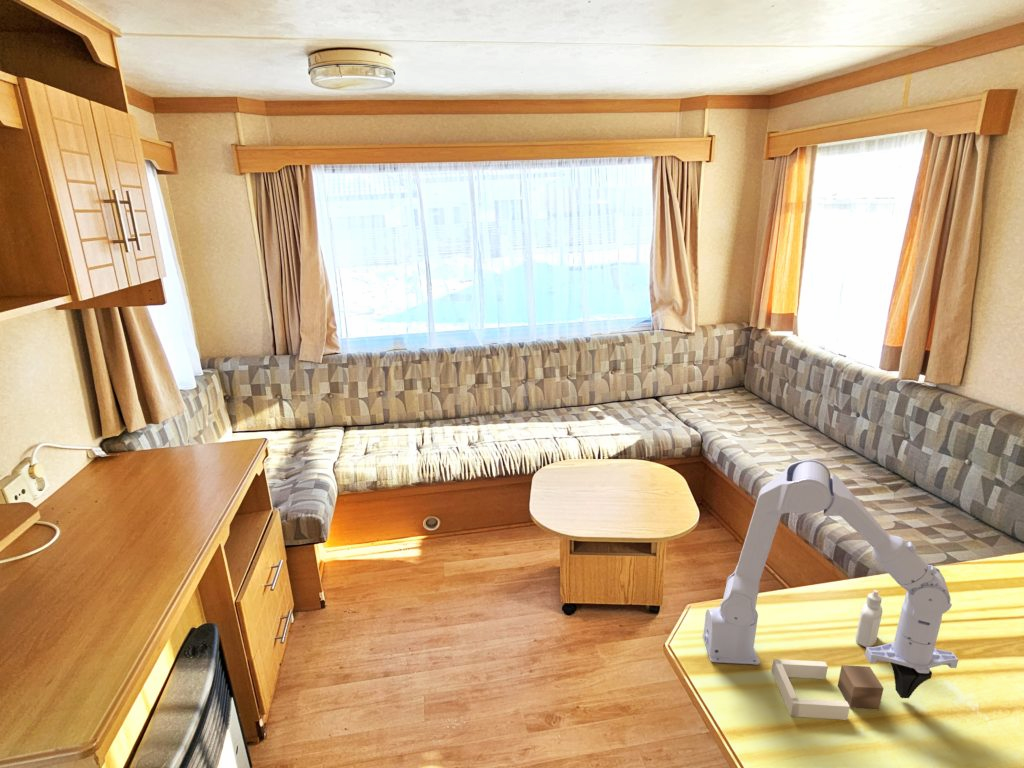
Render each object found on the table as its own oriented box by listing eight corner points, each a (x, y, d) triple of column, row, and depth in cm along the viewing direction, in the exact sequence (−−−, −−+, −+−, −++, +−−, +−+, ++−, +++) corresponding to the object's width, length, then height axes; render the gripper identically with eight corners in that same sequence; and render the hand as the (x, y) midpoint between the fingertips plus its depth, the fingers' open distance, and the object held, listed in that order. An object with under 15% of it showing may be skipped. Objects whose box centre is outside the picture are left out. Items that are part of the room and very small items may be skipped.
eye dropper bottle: (885, 644, 121) (896, 595, 117) (862, 649, 120) (873, 600, 116) (868, 629, 125) (878, 582, 121) (846, 634, 124) (855, 586, 120)
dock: (790, 716, 105) (793, 703, 104) (771, 671, 114) (773, 658, 114) (847, 719, 104) (849, 706, 103) (822, 674, 114) (825, 661, 113)
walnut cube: (849, 708, 106) (854, 686, 105) (837, 686, 111) (841, 665, 109) (878, 710, 106) (883, 688, 104) (865, 687, 110) (869, 666, 109)
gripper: (884, 647, 100) (871, 709, 104) (975, 652, 99) (958, 714, 103) (865, 618, 107) (852, 678, 111) (949, 622, 105) (934, 682, 109)
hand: (902, 693), depth 107 cm, fingers closed
